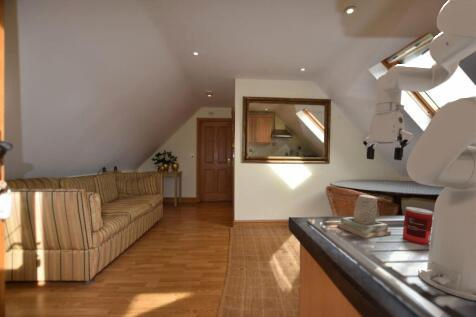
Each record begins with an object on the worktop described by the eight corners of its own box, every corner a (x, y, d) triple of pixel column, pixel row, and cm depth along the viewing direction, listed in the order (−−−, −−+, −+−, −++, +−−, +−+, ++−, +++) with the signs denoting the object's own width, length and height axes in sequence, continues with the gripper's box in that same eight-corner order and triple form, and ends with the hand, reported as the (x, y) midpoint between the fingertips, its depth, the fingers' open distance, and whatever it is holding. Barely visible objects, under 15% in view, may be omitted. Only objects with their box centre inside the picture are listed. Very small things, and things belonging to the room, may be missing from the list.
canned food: (419, 237, 87) (423, 208, 86) (435, 246, 79) (439, 213, 78) (397, 235, 87) (400, 205, 87) (410, 243, 80) (414, 211, 79)
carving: (377, 231, 86) (380, 198, 85) (354, 228, 88) (357, 195, 87) (372, 226, 92) (376, 195, 91) (351, 223, 94) (354, 193, 93)
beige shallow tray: (365, 237, 81) (366, 227, 81) (337, 226, 92) (338, 217, 92) (390, 234, 88) (391, 225, 87) (361, 224, 98) (362, 215, 98)
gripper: (421, 108, 77) (417, 161, 76) (370, 115, 92) (367, 159, 92) (407, 104, 73) (403, 159, 73) (357, 112, 89) (354, 158, 89)
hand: (383, 159), depth 83 cm, fingers open, 9 cm apart
